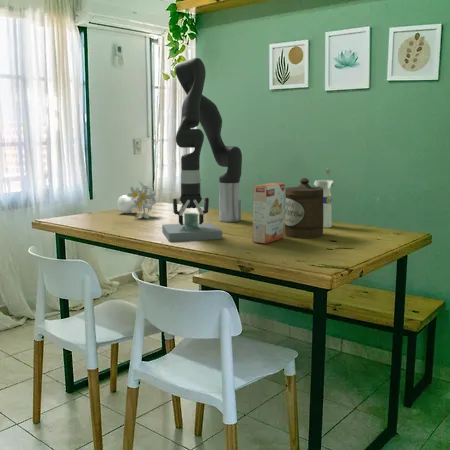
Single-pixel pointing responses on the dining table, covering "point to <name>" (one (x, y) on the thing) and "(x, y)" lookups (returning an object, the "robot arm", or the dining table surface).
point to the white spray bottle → (326, 199)
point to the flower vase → (137, 200)
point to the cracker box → (268, 212)
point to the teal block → (190, 221)
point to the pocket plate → (191, 232)
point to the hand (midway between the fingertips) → (191, 224)
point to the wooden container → (304, 211)
